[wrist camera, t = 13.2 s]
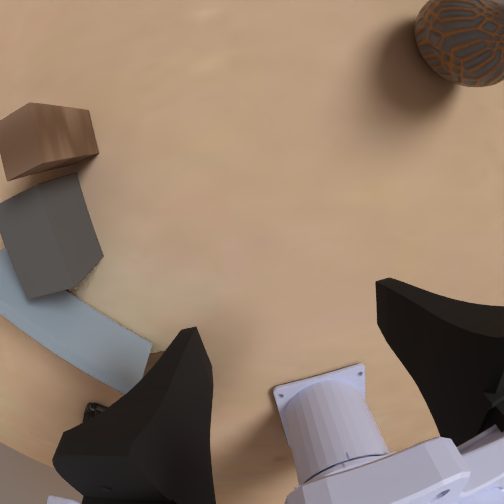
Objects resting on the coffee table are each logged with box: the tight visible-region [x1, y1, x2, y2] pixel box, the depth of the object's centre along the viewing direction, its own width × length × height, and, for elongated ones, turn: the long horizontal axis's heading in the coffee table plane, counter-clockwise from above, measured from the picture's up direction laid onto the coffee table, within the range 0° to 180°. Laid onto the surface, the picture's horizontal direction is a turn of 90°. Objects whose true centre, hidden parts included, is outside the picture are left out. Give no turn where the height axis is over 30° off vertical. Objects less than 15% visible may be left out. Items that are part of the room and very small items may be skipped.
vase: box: [415, 0, 504, 87], centre depth 12 cm, size 7×7×9 cm
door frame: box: [0, 103, 165, 378], centre depth 17 cm, size 20×2×7 cm, turn 13°
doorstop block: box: [0, 173, 104, 299], centre depth 17 cm, size 6×4×5 cm, turn 13°
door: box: [0, 247, 152, 394], centre depth 19 cm, size 14×2×5 cm, turn 55°
